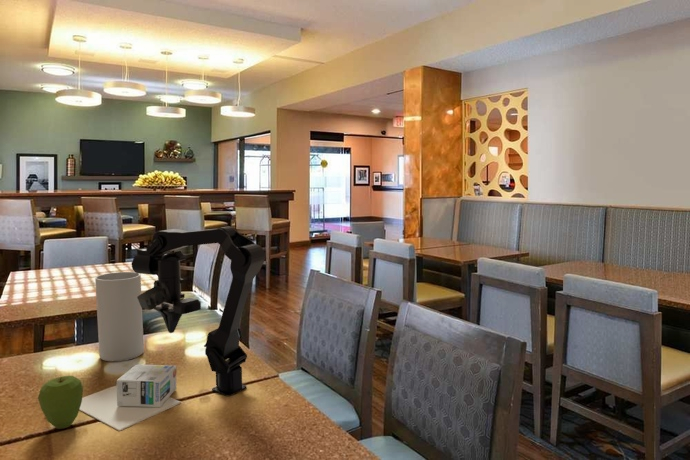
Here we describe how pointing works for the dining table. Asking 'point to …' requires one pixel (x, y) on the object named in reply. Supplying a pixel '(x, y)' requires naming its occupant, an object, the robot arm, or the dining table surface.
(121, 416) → the placemat
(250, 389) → the dining table surface
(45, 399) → the apple
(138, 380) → the light bulb box
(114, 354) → the cylinder vase
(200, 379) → the dining table surface
